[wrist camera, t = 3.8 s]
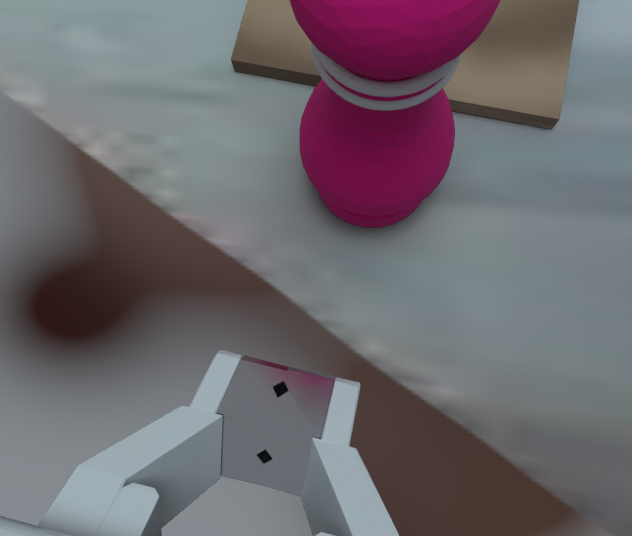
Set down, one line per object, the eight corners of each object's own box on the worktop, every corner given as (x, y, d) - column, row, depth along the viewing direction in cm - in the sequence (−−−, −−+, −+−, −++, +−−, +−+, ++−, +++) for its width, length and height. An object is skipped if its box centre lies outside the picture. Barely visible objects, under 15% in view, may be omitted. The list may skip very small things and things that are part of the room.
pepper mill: (292, 221, 30) (188, -62, 11) (323, 101, 32) (279, -349, 12) (424, 250, 30) (568, 2, 10) (450, 125, 31) (624, -310, 11)
